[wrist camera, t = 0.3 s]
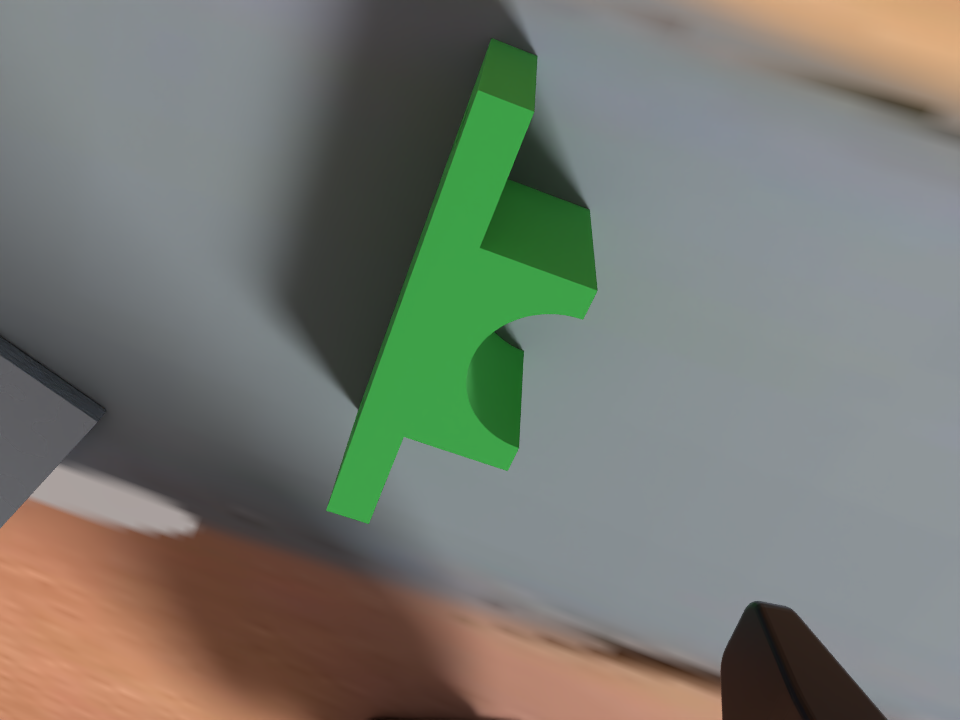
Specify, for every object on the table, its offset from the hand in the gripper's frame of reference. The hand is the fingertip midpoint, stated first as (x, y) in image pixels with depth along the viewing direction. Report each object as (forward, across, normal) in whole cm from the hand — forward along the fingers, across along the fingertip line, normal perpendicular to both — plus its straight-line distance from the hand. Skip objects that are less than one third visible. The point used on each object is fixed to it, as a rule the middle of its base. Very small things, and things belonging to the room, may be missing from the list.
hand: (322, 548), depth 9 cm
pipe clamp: (+14, -1, +3) cm, 15 cm away
